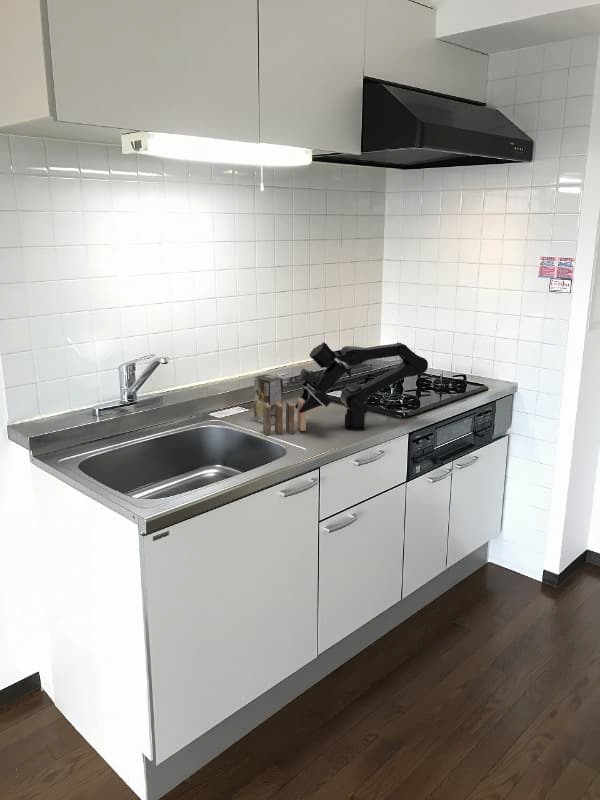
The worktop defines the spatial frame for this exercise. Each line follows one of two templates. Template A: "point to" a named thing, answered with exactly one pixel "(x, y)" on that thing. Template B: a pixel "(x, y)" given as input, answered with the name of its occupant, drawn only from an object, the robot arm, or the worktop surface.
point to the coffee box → (267, 395)
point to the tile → (301, 416)
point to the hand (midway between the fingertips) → (297, 410)
